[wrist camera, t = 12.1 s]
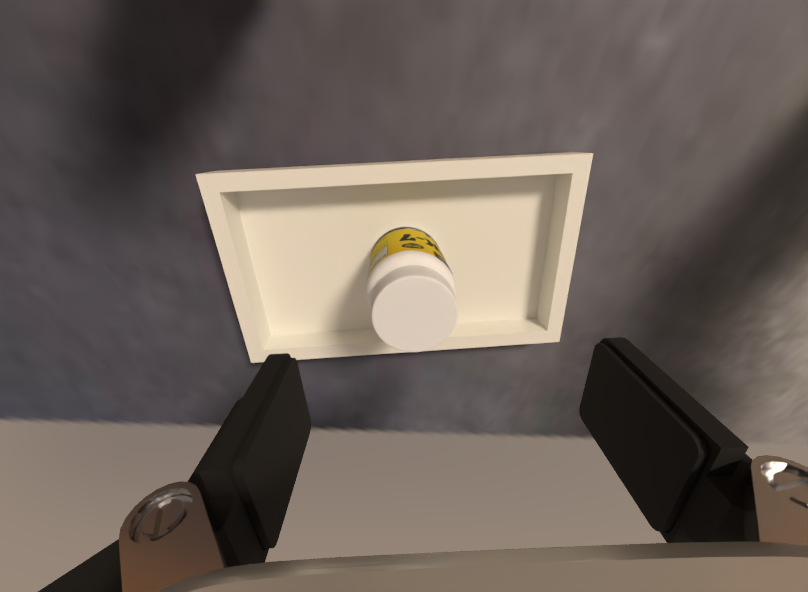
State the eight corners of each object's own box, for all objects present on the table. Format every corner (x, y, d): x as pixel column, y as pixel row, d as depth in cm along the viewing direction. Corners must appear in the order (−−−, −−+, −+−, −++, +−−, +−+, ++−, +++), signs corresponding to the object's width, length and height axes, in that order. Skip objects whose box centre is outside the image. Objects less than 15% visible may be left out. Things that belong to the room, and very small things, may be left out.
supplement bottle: (453, 249, 22) (489, 302, 15) (415, 302, 24) (428, 376, 16) (394, 210, 21) (399, 247, 13) (357, 268, 23) (343, 331, 15)
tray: (570, 152, 21) (593, 153, 18) (544, 324, 26) (559, 341, 24) (216, 170, 20) (195, 174, 18) (263, 343, 25) (251, 362, 23)
